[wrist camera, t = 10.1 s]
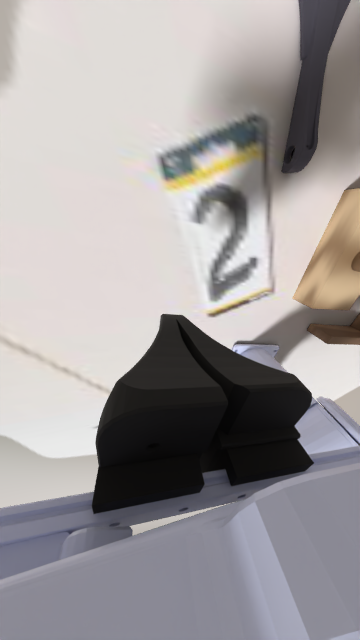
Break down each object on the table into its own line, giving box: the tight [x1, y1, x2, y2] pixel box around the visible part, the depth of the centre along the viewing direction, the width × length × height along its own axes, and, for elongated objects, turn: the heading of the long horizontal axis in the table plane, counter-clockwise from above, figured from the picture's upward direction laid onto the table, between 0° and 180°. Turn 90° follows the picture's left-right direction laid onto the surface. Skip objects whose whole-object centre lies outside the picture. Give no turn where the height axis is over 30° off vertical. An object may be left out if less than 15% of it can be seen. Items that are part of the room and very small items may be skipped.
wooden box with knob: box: [293, 188, 360, 310], centre depth 19 cm, size 12×6×6 cm, turn 172°
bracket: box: [282, 0, 351, 173], centre depth 11 cm, size 14×15×3 cm
